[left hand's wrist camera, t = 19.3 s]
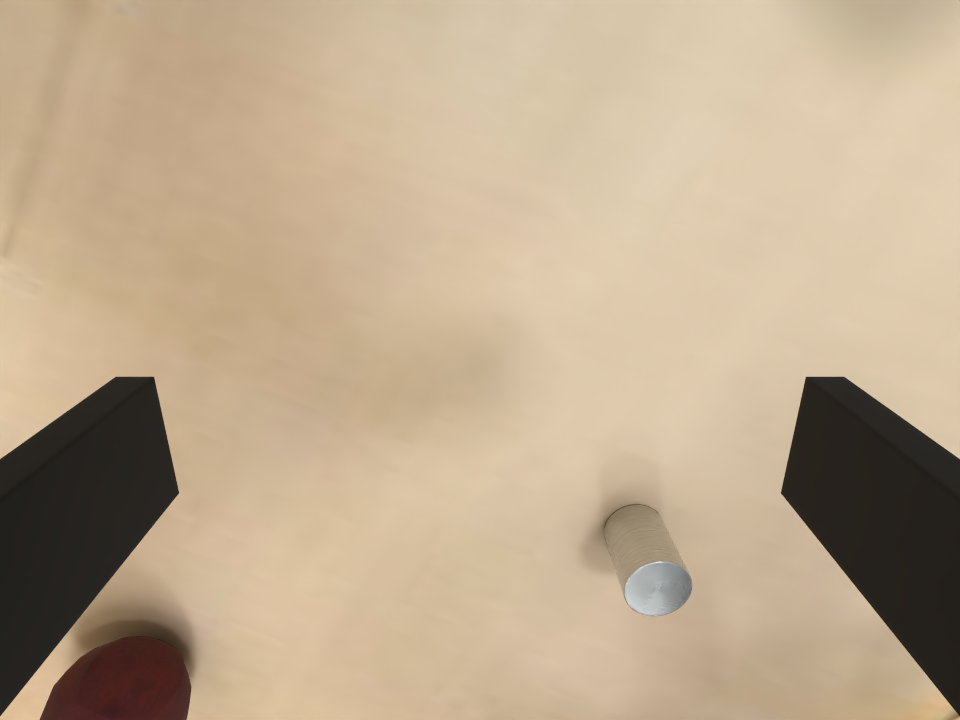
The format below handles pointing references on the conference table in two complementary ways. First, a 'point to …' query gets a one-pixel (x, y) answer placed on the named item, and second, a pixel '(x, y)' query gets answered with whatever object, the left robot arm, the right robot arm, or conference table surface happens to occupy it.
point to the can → (646, 561)
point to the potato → (123, 684)
